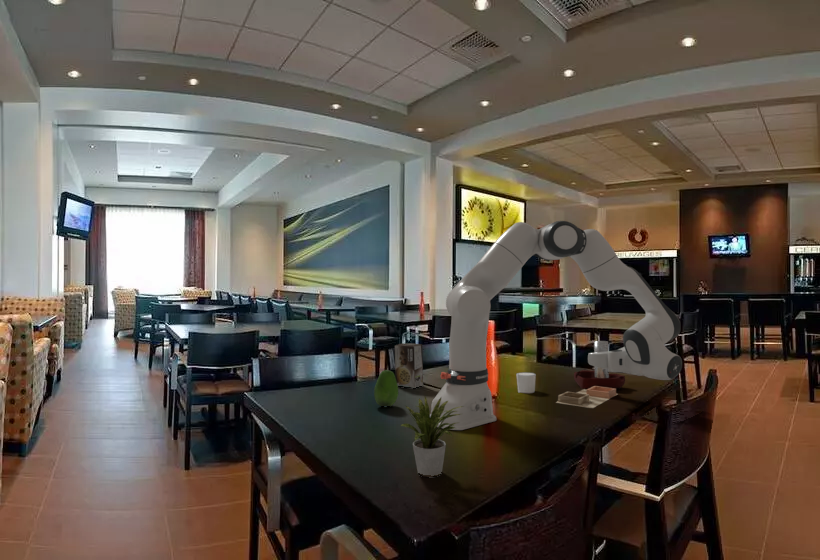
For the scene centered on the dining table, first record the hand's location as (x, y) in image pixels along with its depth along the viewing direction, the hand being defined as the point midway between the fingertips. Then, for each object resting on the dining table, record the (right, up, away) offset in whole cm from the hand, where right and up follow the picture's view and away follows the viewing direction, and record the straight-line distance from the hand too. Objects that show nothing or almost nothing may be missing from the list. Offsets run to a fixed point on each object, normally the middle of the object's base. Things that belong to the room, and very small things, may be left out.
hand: (599, 354), depth 173 cm
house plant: (-61, -16, -67) cm, 92 cm away
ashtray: (+4, -15, +14) cm, 21 cm away
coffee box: (-65, -16, +21) cm, 70 cm away
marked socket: (0, -15, -1) cm, 15 cm away
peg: (0, -8, -1) cm, 8 cm away
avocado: (-73, -16, -10) cm, 75 cm away
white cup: (-24, -15, +6) cm, 29 cm away
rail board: (-6, -15, -5) cm, 16 cm away
